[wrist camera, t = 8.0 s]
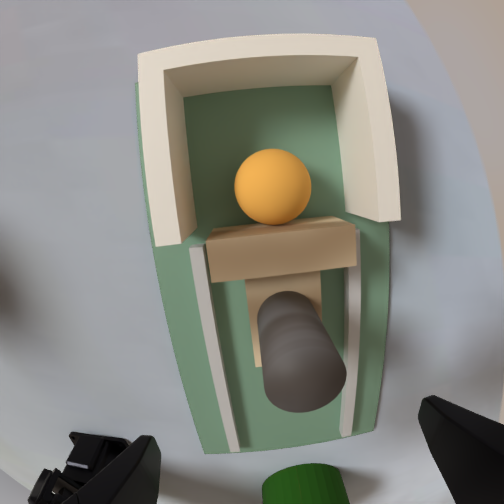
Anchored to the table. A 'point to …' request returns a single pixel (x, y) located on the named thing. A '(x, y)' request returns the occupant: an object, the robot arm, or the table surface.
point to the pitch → (230, 214)
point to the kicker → (288, 302)
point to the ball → (272, 186)
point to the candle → (305, 486)
